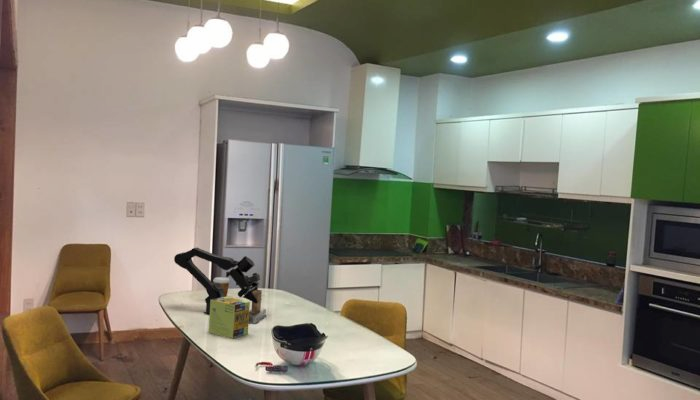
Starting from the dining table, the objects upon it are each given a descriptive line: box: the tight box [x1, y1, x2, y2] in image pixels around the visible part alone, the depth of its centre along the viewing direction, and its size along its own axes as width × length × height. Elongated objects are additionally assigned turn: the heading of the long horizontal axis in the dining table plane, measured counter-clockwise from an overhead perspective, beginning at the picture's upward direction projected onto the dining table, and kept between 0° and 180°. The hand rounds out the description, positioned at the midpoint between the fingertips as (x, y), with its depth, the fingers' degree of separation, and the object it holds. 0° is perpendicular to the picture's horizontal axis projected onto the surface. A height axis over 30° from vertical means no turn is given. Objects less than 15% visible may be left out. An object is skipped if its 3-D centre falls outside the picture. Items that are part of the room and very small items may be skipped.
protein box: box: [208, 296, 251, 340], centre depth 268 cm, size 10×15×16 cm
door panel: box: [250, 289, 263, 315], centre depth 299 cm, size 3×6×12 cm, turn 172°
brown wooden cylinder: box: [212, 276, 231, 297], centre depth 338 cm, size 10×10×12 cm
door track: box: [249, 308, 267, 325], centre depth 296 cm, size 8×18×4 cm, turn 172°
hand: (259, 301), depth 299 cm, fingers closed on door panel, 6 cm apart
